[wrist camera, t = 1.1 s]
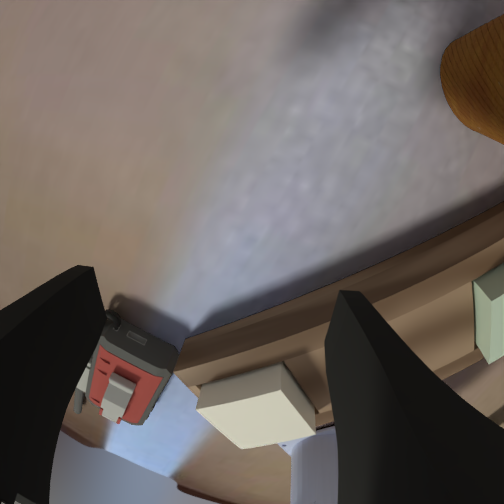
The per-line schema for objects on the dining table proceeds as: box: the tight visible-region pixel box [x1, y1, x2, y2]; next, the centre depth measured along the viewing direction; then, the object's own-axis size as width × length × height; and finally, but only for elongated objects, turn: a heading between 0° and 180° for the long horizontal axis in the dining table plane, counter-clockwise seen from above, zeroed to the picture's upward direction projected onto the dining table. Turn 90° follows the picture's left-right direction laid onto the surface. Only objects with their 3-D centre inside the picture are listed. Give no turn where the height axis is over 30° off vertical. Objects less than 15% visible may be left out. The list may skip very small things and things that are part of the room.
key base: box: [173, 202, 504, 426], centre depth 19 cm, size 10×27×4 cm, turn 118°
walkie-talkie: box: [74, 310, 179, 425], centre depth 24 cm, size 9×4×20 cm
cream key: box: [196, 361, 316, 449], centre depth 19 cm, size 6×6×3 cm
